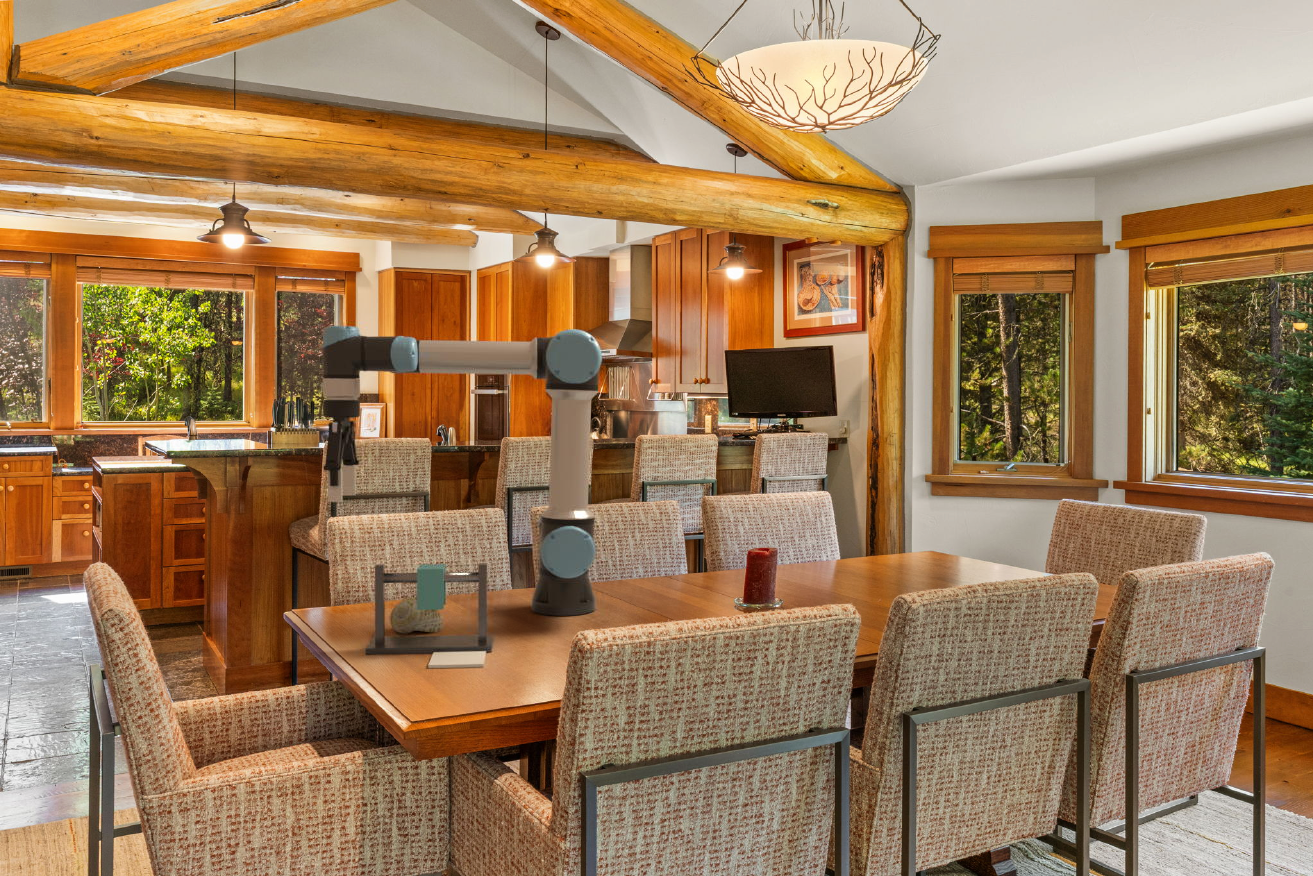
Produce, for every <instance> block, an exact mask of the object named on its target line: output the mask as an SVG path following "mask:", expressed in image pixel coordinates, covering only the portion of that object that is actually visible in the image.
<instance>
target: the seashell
mask: <svg viewBox="0 0 1313 876" xmlns="http://www.w3.org/2000/svg"><path fill="white" fill-rule="evenodd" d="M391 610H392V611H391V613H390V615H389V623H390V626H391V627H392V629H393V630H395V632H398V633H400V634H411V633H413V632H414V631H419V632H426V633H439V632H440V631H442V630H443V626H444V625H443V618H442V615H441V614H440V612H439V610H417V596H416V597H415V596H414V597H408V598H404V599H403V600H400V601H399V602H398V603H397V604H396V605H395V606H394V607H393V608H392V609H391Z"/></svg>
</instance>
